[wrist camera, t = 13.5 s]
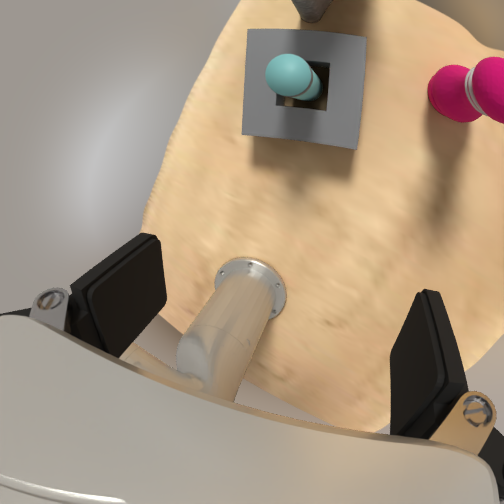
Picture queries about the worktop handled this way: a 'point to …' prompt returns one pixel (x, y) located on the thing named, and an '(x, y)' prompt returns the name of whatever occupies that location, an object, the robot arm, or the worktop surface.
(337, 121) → the socket block
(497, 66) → the pepper mill
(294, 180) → the worktop surface
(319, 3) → the flask
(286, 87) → the peg
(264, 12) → the worktop surface
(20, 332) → the robot arm
